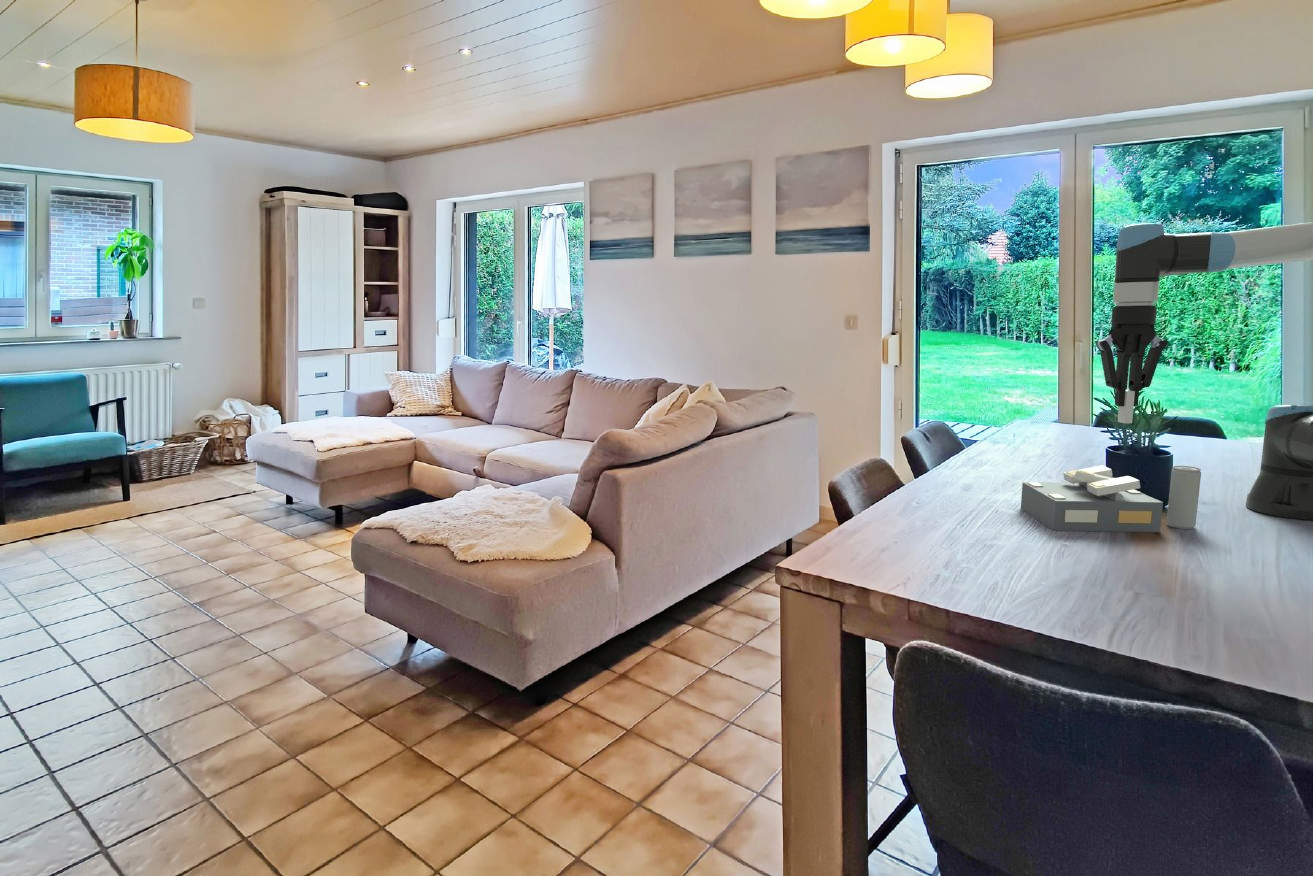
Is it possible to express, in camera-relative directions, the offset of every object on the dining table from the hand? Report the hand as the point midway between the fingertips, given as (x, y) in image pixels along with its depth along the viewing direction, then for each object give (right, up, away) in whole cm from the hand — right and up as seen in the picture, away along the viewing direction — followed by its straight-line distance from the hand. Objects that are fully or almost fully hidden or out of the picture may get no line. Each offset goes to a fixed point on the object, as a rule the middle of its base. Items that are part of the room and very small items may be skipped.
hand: (1124, 422), depth 153 cm
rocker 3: (-4, -13, -3) cm, 14 cm away
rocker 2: (-4, -12, +2) cm, 13 cm away
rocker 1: (-3, -11, +7) cm, 14 cm away
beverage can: (+10, -21, -2) cm, 24 cm away
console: (-6, -20, +4) cm, 21 cm away
